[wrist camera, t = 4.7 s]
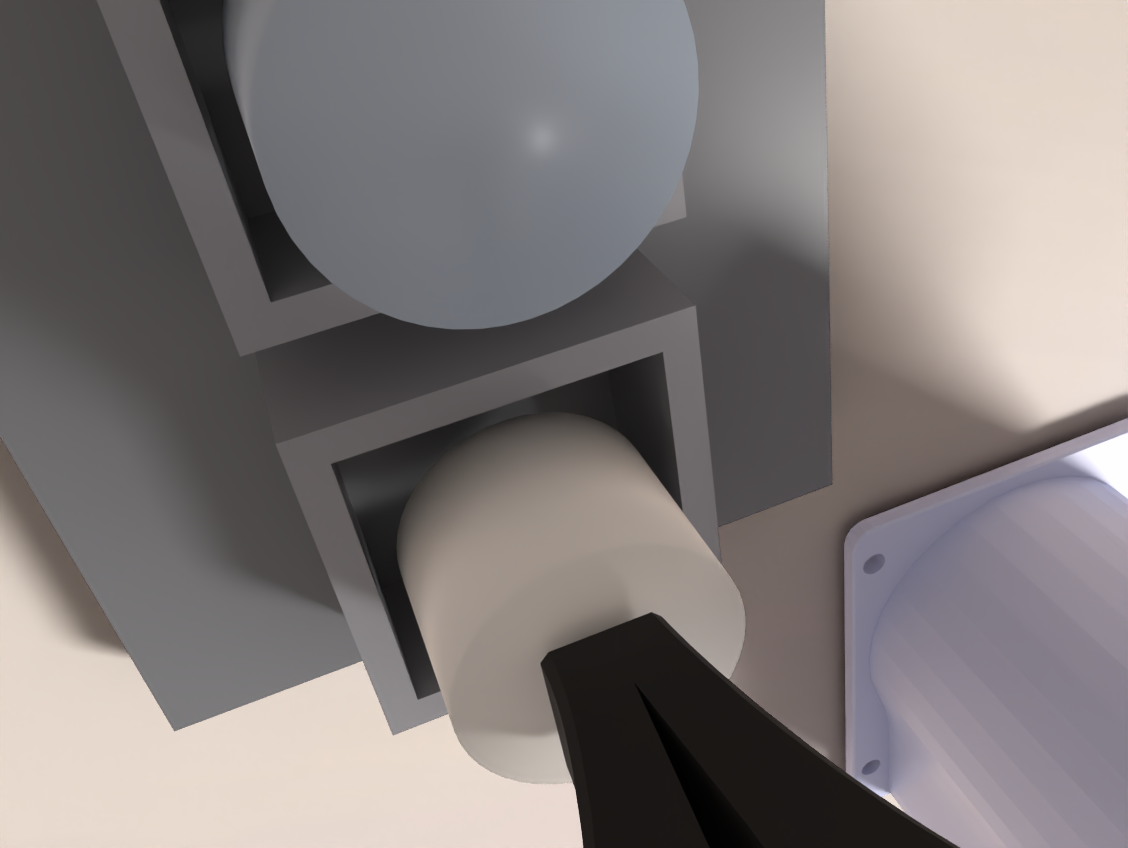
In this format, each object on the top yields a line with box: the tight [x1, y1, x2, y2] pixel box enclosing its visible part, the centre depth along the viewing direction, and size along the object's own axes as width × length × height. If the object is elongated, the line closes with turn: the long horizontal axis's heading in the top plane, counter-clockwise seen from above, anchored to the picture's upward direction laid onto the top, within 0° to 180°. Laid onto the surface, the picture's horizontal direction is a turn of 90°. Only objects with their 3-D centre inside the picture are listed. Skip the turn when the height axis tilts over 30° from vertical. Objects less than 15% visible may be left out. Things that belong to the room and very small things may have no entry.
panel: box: [0, 0, 832, 735], centre depth 12 cm, size 20×12×4 cm, turn 10°
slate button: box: [222, 0, 699, 329], centre depth 9 cm, size 4×4×3 cm
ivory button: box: [396, 412, 746, 784], centre depth 13 cm, size 4×4×3 cm
